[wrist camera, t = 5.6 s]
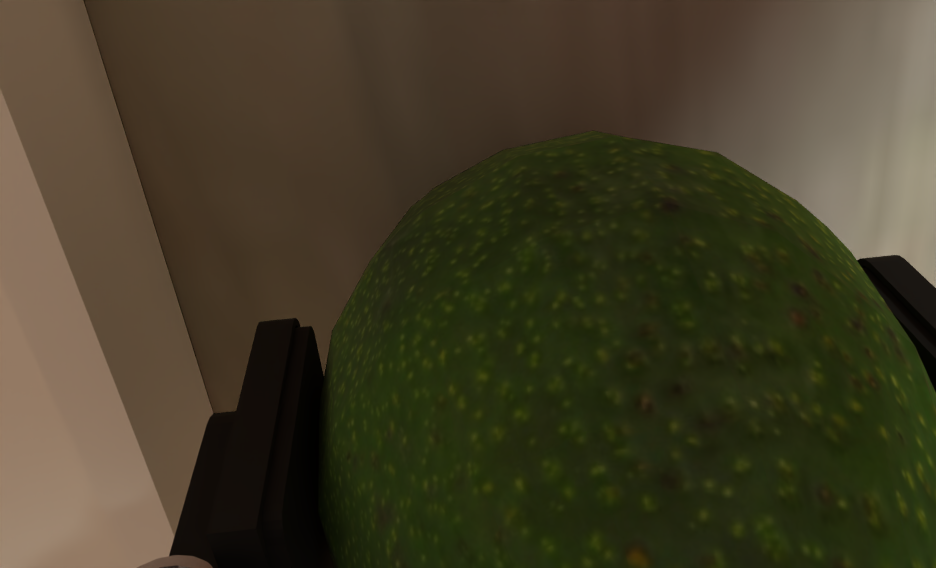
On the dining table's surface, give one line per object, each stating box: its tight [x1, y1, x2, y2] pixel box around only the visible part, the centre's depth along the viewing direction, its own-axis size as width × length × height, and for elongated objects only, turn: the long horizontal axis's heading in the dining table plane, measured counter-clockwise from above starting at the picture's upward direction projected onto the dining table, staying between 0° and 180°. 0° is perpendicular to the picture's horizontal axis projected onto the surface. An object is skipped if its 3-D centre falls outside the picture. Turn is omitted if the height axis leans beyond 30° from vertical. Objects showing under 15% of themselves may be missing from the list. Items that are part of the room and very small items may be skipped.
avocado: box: [318, 131, 936, 568], centre depth 10 cm, size 8×8×12 cm
